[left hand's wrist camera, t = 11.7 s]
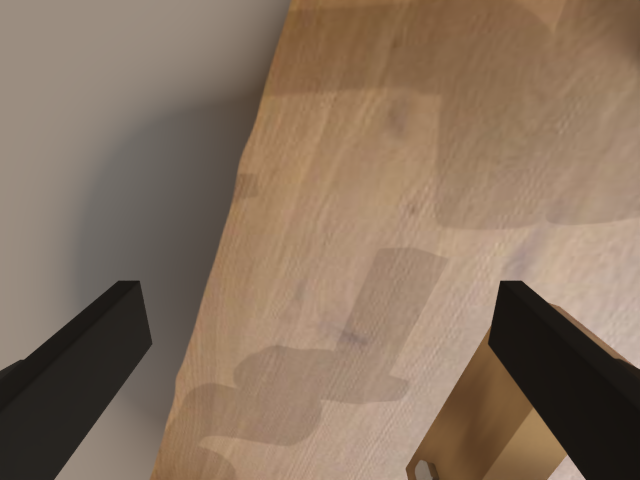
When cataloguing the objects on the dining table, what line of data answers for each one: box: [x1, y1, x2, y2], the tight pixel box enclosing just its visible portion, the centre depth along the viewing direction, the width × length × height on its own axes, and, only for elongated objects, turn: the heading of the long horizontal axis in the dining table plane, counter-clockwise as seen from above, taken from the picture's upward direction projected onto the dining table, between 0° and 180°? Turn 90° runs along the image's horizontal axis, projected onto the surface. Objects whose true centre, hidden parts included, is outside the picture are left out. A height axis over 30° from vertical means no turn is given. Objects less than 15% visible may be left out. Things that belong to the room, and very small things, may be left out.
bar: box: [406, 303, 634, 480], centre depth 31 cm, size 24×5×8 cm, turn 161°
